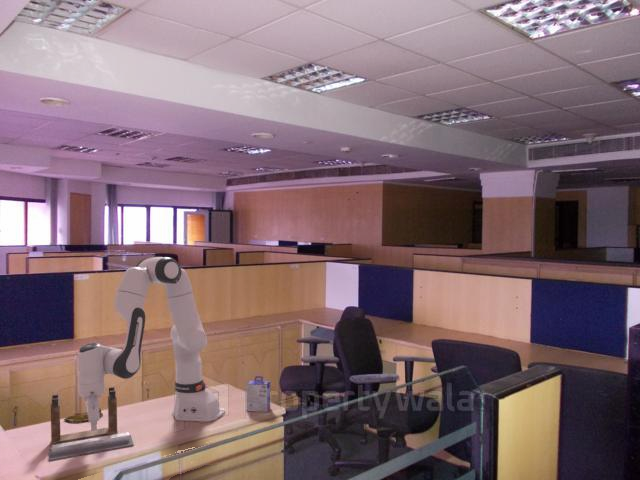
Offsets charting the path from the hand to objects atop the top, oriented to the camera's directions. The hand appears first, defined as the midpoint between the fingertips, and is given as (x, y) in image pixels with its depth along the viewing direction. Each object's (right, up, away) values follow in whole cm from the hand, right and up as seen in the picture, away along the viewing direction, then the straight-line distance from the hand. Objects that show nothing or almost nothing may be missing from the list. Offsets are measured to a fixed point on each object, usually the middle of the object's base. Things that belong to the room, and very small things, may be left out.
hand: (93, 425), depth 191 cm
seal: (-17, -8, +29) cm, 35 cm away
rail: (-1, -8, 0) cm, 8 cm away
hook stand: (-7, -8, +9) cm, 14 cm away
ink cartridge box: (+56, -7, +38) cm, 69 cm away
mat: (-1, -8, 0) cm, 8 cm away
